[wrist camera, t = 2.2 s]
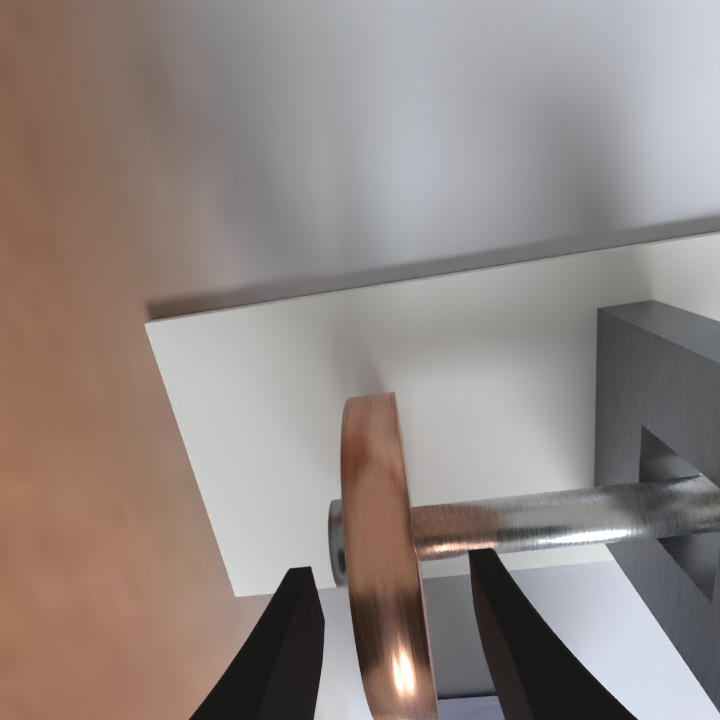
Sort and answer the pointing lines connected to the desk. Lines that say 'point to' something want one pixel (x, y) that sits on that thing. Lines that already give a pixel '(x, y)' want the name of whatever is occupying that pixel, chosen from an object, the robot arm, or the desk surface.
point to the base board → (408, 394)
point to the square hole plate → (664, 460)
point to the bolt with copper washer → (460, 544)
